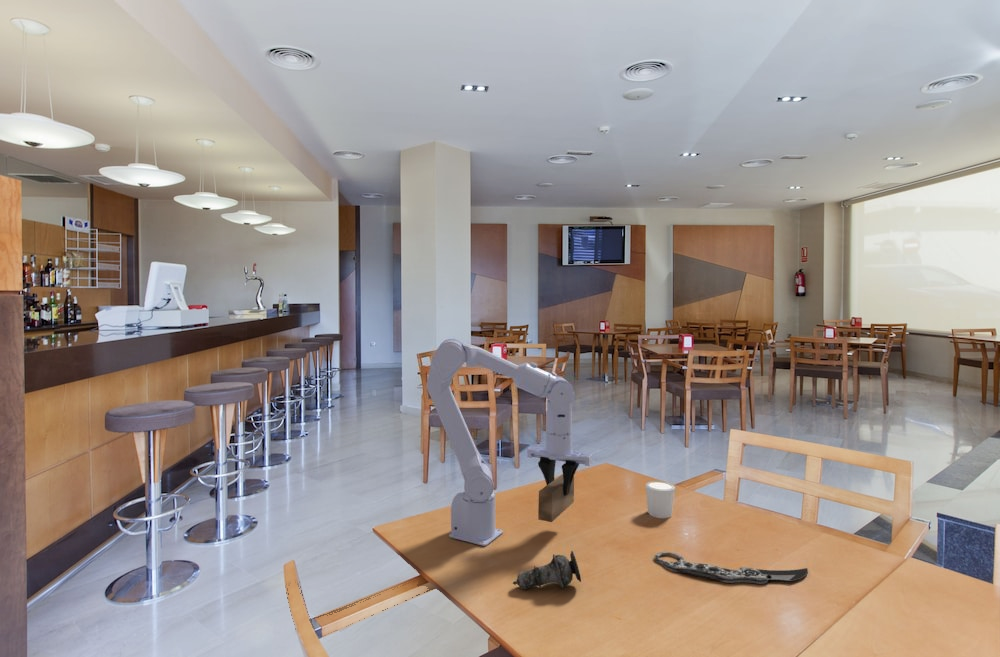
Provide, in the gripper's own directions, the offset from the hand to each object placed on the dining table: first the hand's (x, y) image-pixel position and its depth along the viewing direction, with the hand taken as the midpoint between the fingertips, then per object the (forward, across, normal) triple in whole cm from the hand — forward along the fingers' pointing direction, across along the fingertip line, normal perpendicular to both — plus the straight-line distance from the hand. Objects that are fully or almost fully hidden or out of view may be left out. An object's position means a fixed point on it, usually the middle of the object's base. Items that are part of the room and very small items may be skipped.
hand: (558, 492), depth 119 cm
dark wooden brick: (+4, 0, -1) cm, 4 cm away
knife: (+10, +36, -1) cm, 37 cm away
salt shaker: (+6, +11, -19) cm, 23 cm away
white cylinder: (+9, +18, +22) cm, 30 cm away
